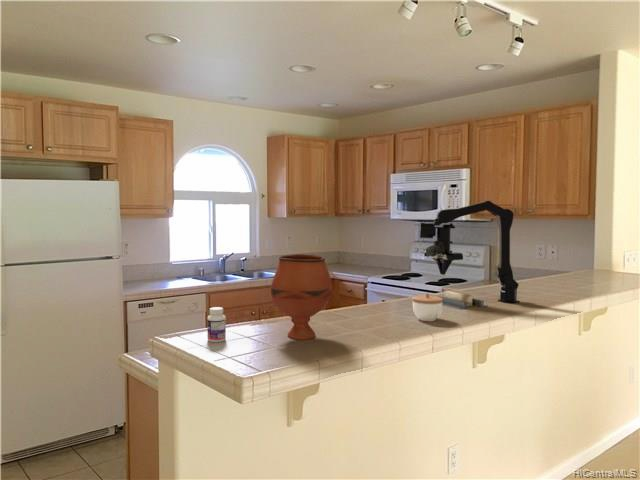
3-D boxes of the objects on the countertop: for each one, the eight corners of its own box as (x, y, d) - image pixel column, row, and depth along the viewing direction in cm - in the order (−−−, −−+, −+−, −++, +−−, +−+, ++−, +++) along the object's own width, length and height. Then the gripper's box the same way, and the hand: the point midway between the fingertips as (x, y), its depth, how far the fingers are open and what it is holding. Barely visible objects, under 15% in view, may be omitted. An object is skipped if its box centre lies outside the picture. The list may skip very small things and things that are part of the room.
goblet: (282, 347, 147) (283, 260, 146) (262, 331, 165) (262, 254, 163) (342, 340, 155) (343, 258, 153) (317, 326, 172) (318, 252, 171)
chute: (460, 299, 224) (460, 293, 224) (487, 305, 210) (488, 299, 210) (432, 302, 217) (432, 296, 217) (459, 309, 203) (459, 303, 203)
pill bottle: (208, 337, 157) (208, 306, 156) (226, 337, 157) (226, 306, 156) (206, 342, 151) (206, 310, 151) (224, 342, 152) (224, 310, 151)
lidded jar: (424, 323, 178) (425, 297, 177) (405, 317, 187) (406, 292, 186) (448, 320, 183) (449, 294, 182) (429, 315, 192) (429, 290, 191)
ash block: (455, 301, 220) (456, 290, 220) (472, 305, 211) (472, 293, 211) (444, 302, 218) (445, 291, 217) (460, 307, 209) (460, 294, 208)
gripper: (415, 237, 226) (414, 273, 227) (444, 240, 209) (443, 278, 210) (434, 237, 231) (433, 271, 232) (464, 239, 215) (463, 276, 216)
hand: (442, 274), depth 222 cm, fingers closed
